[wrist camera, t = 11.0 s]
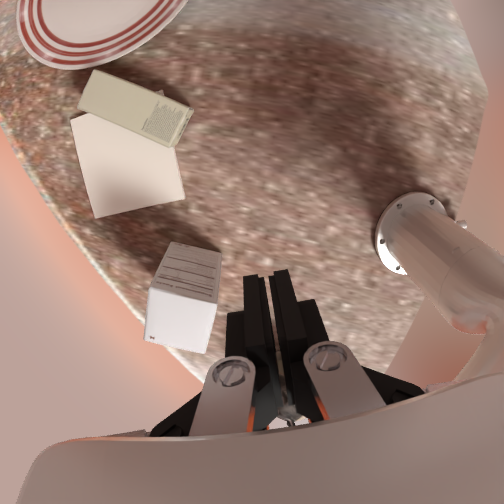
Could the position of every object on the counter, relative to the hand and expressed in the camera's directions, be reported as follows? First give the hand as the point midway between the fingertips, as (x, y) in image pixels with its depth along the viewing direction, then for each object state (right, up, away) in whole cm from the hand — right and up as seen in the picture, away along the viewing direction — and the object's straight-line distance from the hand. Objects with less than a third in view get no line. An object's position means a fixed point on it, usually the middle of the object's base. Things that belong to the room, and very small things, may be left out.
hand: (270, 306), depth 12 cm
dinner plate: (-20, +38, +15) cm, 45 cm away
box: (-8, +16, +21) cm, 28 cm away
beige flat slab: (-17, +14, +25) cm, 33 cm away
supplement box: (-9, 0, +32) cm, 33 cm away
